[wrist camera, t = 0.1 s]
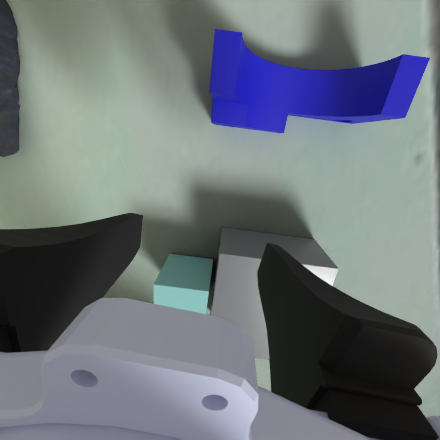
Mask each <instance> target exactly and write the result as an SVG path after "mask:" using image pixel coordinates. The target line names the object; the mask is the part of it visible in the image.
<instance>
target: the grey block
mask: <svg viewBox="0 0 440 440" xmlns="http://www.w3.org/2000/svg"><path fill="white" fill-rule="evenodd" d="M267 243H271V244H276V245H279V246H280V247H282V248H283V249H284V250H285V251H287V252H288V253H289V254H290V255H291V256H293V257H294V258H295V259H296V260H297V261H298V262H300V263H301V264H302V265H303V266H305V267H306V268H307V269H308V270H310V271H311V272H312V273H314V274H315V275H316V276H318V277H319V278H321V279H322V280H324V281H325V282H327V283H328V284H330V285H331V286H332V284H333V282H334V279H335V277H336V274H337V272H338V270H339V269H338V268H337V266H336V265H335V264H334V263H333V261H332V260H331V259H330V258H329V257H328V255H327V254H326V253H325V252H324V250H323V249H322V248H321V247H320V246H319V244H318V243H317V242H316V241H315V240H314V239H309V238H301V237H293V236H286V235H278V234H270V233H263V232H255V231H247V230H239V229H232V228H224V227H222V231H221V239H220V246H219V253H218V260H217V268H216V275H215V282H214V289H213V297H212V304H211V311H210V315H212V316H217V317H221V318H224V319H226V320H228V321H231V322H233V323H235V324H238V325H240V326H242V328H243V329H244V330H245V331H246V333H247V334H248V335H249V337H250V338H251V339H252V341H253V350H254V358H260V359H268V360H269V348H268V338H267V329H266V323H265V318H264V313H263V308H262V304H261V299H260V294H259V289H258V280H257V271H258V268H259V265H260V262H261V259H262V256H263V253H264V250H265V248H266V245H267Z"/></svg>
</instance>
